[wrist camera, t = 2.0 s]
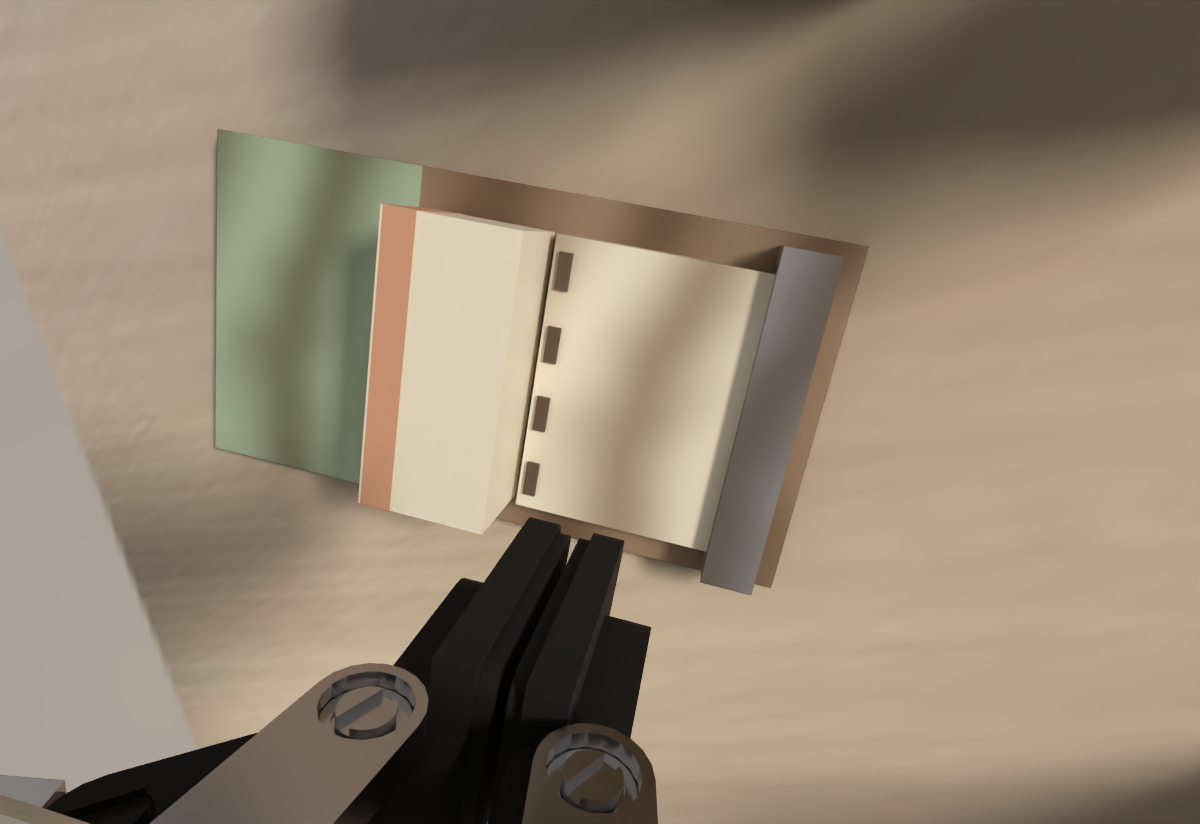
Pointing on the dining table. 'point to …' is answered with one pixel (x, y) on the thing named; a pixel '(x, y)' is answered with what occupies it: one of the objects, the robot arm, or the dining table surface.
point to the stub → (450, 363)
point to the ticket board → (547, 348)
